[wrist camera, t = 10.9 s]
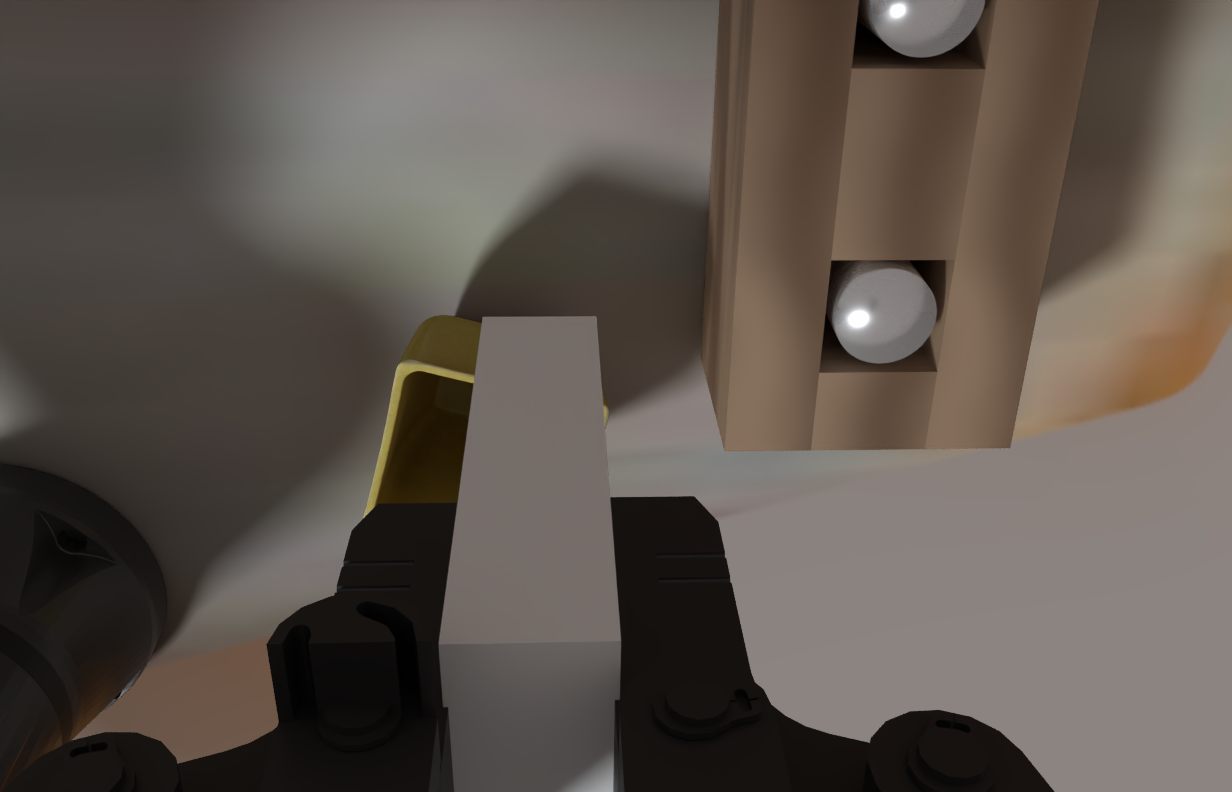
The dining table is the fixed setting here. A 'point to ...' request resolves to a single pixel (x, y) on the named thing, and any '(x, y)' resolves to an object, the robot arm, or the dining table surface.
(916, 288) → the peg
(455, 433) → the flower pot
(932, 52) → the peg
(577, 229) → the dining table surface
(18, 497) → the robot arm
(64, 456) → the dining table surface
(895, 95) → the tan grooved block
